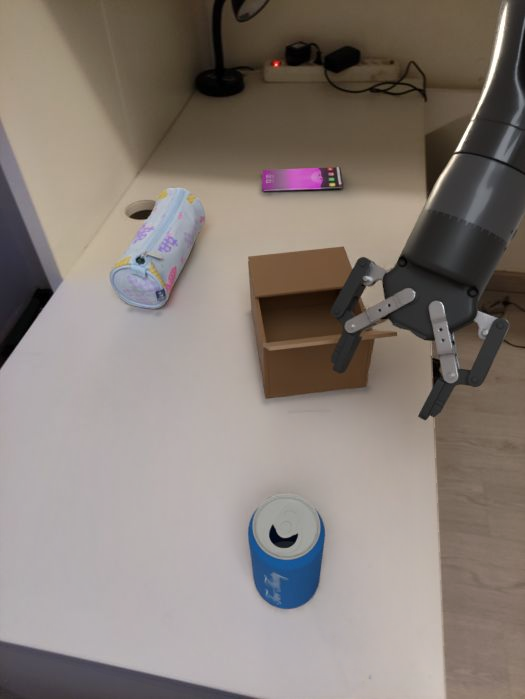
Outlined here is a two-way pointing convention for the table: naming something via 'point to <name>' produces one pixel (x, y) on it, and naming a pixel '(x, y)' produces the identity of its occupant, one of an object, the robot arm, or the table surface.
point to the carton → (302, 321)
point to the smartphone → (302, 179)
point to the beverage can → (286, 550)
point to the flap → (324, 340)
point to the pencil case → (159, 250)
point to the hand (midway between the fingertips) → (379, 393)
